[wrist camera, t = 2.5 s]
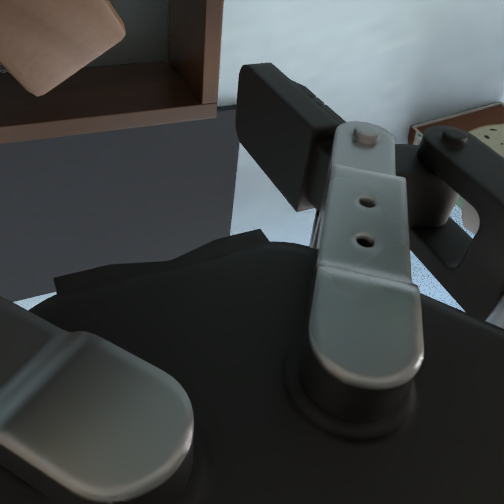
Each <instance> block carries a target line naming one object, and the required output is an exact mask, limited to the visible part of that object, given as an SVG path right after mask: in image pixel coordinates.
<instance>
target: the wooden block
mask: <svg viewBox="0 0 504 504" xmlns="http://www.w3.org/2000/svg"><path fill="white" fill-rule="evenodd" d="M125 35H126V30H125V26H124V23H123V21H122V20H121V18H120V17H119V15H118V14H117V12H116V11H115V9H114V7H113V6H112V4H111V3H110V1H109V0H0V63H1V64H2V65H3V66H4V67H5V68H6V69H7V71H8V72H9V73H10V74H11V75H12V76H13V77H14V78H15V79H16V80H17V81H18V82H19V83H20V84H21V85H22V86H23V87H24V88H25V89H26V90H27V91H28V92H30V93H32V94H34V95H35V96H37V97H38V96H41V95H44V94H46V93H47V92H49V91H50V90H51V89H53V88H54V87H56V86H57V85H59V84H60V83H61V82H63V81H64V80H66V79H67V78H69V77H70V76H71V75H73V74H74V73H76V72H77V71H79V70H80V69H81V68H83V67H84V66H86V65H87V64H89V63H90V62H91V61H93V60H94V59H96V58H97V57H99V56H100V55H101V54H103V53H104V52H106V51H107V50H109V49H110V48H111V47H113V46H114V45H116V44H117V43H119V42H120V41H121V40H122V39H123V38H124V36H125Z"/></svg>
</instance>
